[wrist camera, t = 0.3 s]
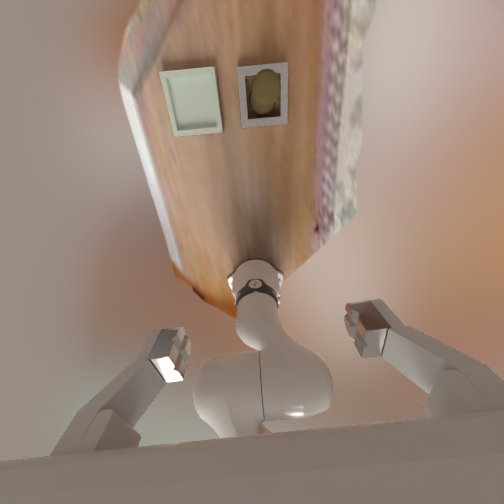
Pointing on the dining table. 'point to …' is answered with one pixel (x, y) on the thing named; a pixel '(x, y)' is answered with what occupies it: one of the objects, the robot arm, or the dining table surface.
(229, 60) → the dining table surface
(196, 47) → the dining table surface
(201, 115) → the sage tray
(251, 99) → the cork
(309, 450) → the robot arm
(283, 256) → the dining table surface
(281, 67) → the grey square frame
